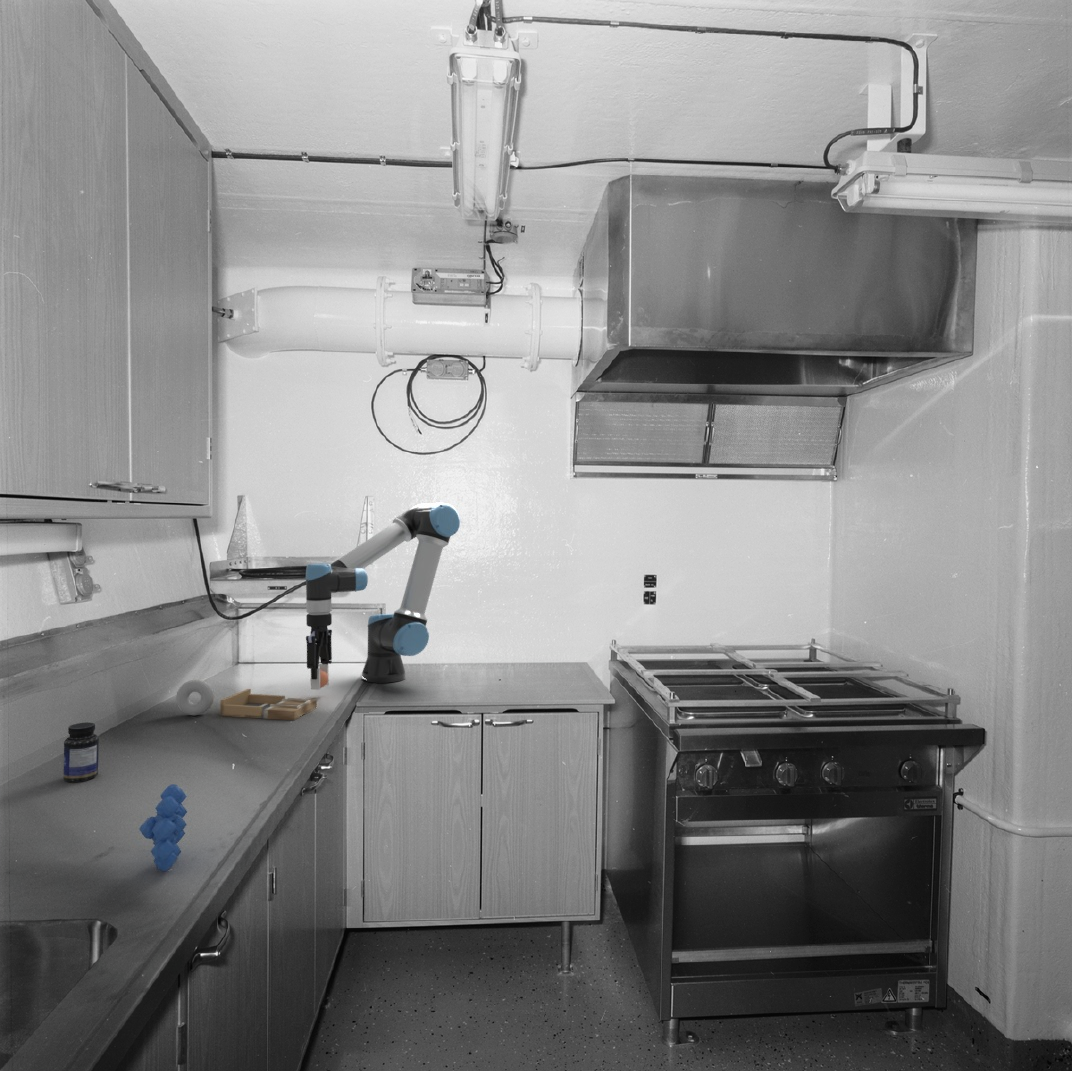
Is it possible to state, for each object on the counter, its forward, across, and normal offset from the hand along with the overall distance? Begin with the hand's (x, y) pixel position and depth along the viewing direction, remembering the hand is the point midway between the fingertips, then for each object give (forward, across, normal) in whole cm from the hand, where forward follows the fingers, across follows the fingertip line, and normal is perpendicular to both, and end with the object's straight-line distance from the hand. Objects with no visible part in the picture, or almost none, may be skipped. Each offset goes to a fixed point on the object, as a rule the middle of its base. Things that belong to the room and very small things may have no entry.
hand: (319, 686), depth 218 cm
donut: (+2, +27, -25) cm, 36 cm away
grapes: (+1, +107, +23) cm, 109 cm away
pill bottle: (+1, +76, -18) cm, 78 cm away
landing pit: (+3, +19, -11) cm, 22 cm away
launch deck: (+3, +19, 0) cm, 19 cm away
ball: (-2, 0, 0) cm, 2 cm away
